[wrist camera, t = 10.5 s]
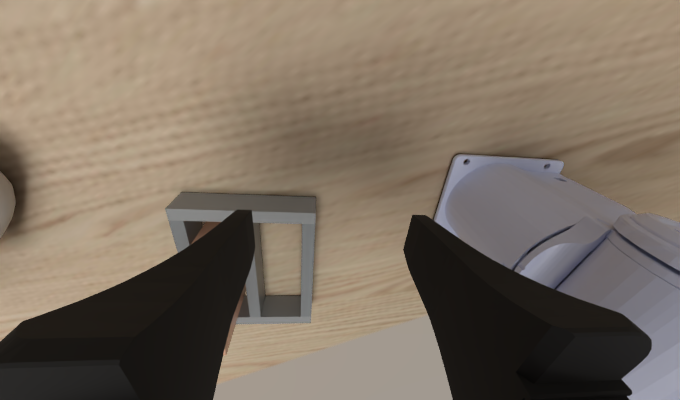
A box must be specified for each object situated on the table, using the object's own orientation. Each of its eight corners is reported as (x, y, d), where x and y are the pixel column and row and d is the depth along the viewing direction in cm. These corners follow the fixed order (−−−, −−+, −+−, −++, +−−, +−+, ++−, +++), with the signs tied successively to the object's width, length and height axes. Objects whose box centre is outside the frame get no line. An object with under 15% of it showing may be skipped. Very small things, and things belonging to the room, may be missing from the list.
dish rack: (315, 197, 21) (315, 213, 19) (311, 302, 28) (310, 323, 26) (181, 192, 20) (165, 208, 18) (208, 302, 27) (199, 324, 24)
